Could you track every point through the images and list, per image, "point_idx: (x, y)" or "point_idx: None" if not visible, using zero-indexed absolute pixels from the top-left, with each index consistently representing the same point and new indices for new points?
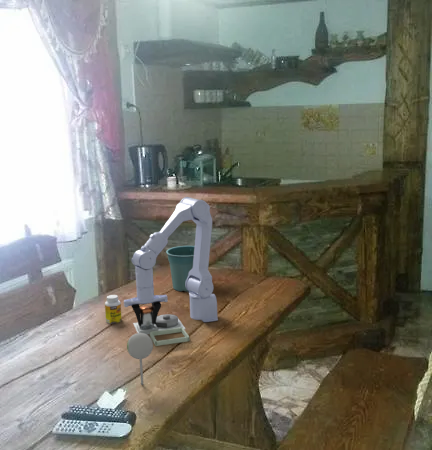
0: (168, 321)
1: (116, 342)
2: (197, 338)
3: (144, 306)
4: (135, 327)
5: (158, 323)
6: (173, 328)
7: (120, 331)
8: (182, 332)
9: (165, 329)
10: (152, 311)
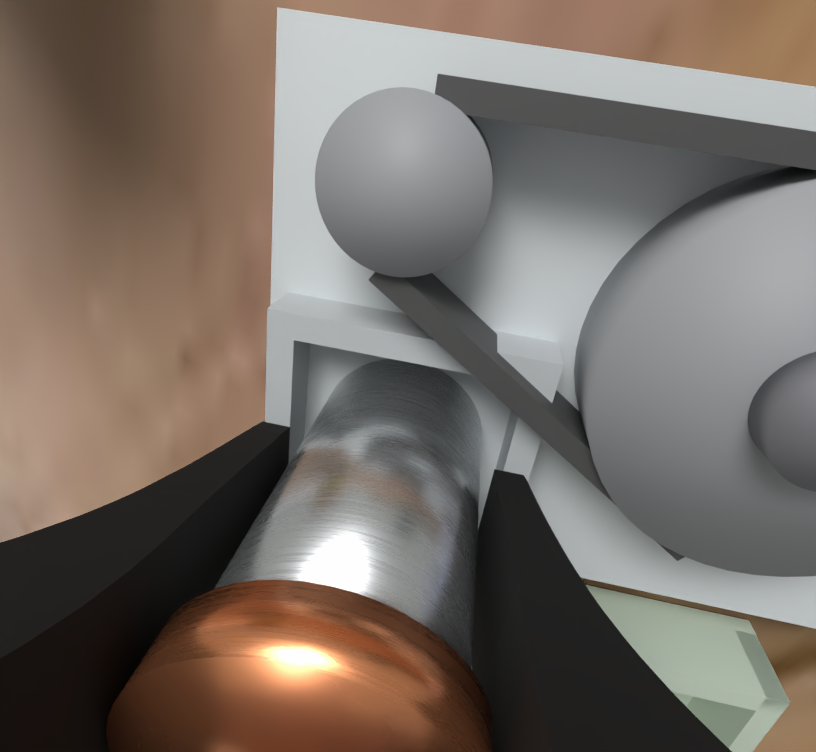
0: (743, 543)
1: (53, 440)
2: (791, 747)
3: (273, 705)
4: (277, 247)
5: (585, 468)
6: (666, 675)
7: (94, 142)
8: (717, 709)
9: (617, 529)
10: (516, 601)
